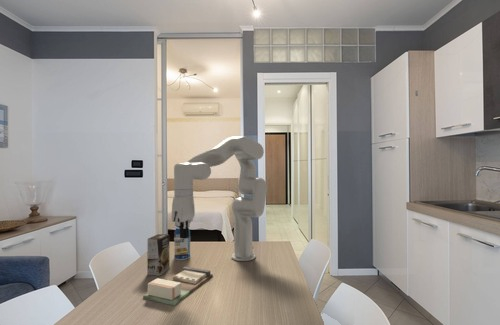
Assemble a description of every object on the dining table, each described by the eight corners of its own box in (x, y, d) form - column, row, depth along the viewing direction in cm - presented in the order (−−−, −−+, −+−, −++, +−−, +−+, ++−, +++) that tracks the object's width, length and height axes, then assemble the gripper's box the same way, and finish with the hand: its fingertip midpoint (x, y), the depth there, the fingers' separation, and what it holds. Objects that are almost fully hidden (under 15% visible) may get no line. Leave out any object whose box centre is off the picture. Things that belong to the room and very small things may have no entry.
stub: (157, 288, 101) (157, 278, 101) (181, 293, 97) (180, 282, 97) (147, 294, 97) (147, 283, 97) (172, 300, 92) (172, 288, 92)
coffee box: (159, 276, 116) (159, 239, 117) (146, 275, 118) (146, 238, 118) (170, 268, 125) (170, 234, 125) (157, 267, 126) (157, 233, 127)
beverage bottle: (193, 256, 141) (193, 219, 141) (182, 261, 134) (181, 222, 134) (182, 254, 145) (182, 217, 146) (170, 258, 138) (170, 220, 138)
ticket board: (185, 271, 121) (185, 265, 121) (212, 276, 115) (212, 269, 115) (143, 298, 96) (143, 290, 97) (174, 305, 91) (174, 297, 91)
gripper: (187, 191, 117) (187, 232, 117) (164, 194, 103) (164, 242, 103) (201, 191, 114) (202, 234, 114) (180, 195, 100) (180, 243, 100)
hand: (184, 237), depth 108 cm, fingers closed
